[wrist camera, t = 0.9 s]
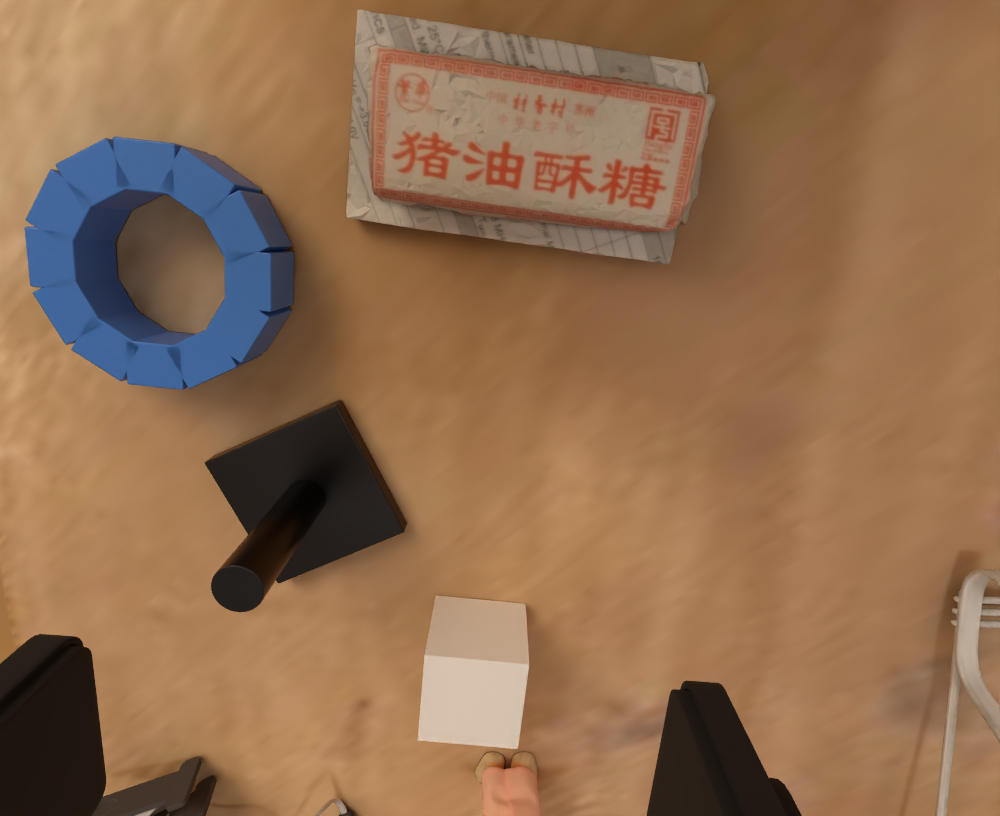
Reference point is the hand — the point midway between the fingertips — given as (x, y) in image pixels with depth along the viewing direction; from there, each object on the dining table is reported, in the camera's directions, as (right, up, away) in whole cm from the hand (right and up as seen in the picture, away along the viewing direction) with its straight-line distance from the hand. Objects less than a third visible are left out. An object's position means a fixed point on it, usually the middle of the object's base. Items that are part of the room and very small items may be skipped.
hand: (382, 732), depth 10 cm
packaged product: (+3, +19, +23) cm, 30 cm away
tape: (-16, +13, +25) cm, 32 cm away
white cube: (0, -10, +32) cm, 33 cm away
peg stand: (-10, 0, +28) cm, 30 cm away
